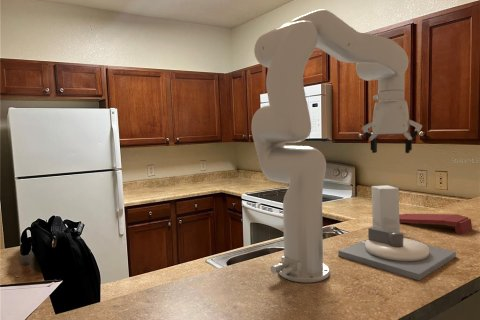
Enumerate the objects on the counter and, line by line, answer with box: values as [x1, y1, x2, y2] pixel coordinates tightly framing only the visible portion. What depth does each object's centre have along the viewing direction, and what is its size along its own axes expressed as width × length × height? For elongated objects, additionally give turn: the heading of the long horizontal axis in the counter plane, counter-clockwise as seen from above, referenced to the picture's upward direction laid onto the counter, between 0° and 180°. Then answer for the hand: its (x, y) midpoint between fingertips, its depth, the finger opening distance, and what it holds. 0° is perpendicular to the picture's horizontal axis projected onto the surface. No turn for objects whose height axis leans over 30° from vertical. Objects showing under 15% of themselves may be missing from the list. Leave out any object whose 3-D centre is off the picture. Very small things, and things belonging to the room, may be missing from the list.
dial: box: [365, 226, 429, 261], centre depth 94 cm, size 16×16×5 cm
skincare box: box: [371, 184, 401, 232], centre depth 117 cm, size 8×7×16 cm
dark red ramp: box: [399, 213, 473, 235], centre depth 125 cm, size 12×5×25 cm
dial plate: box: [338, 238, 457, 281], centre depth 94 cm, size 22×22×2 cm
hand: (390, 152), depth 107 cm, fingers open, 9 cm apart
